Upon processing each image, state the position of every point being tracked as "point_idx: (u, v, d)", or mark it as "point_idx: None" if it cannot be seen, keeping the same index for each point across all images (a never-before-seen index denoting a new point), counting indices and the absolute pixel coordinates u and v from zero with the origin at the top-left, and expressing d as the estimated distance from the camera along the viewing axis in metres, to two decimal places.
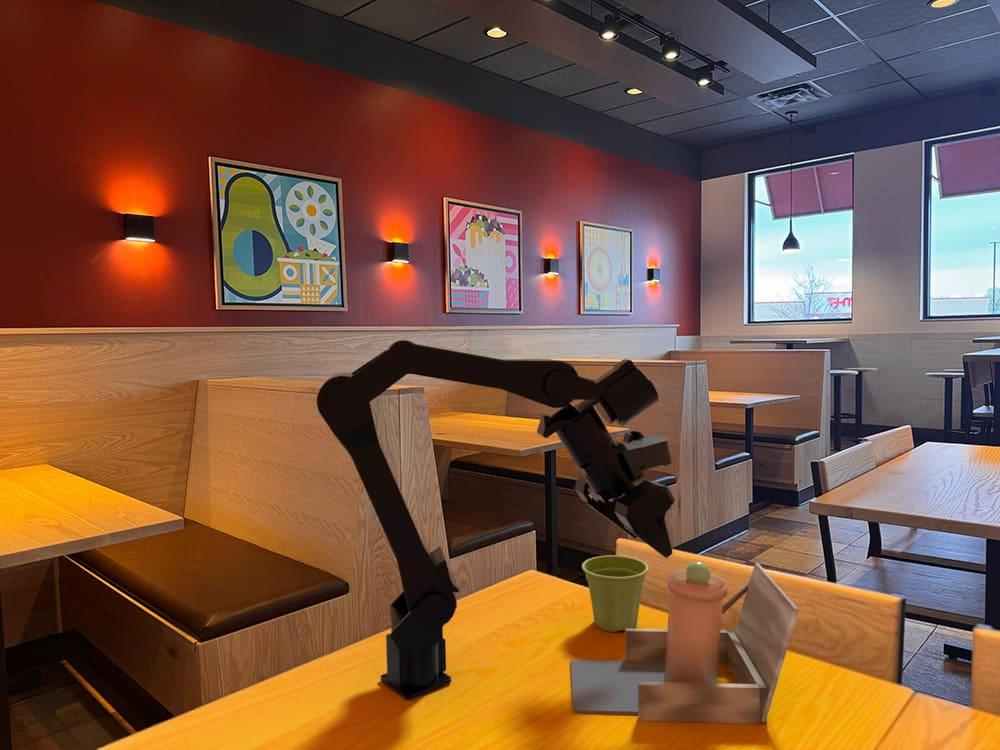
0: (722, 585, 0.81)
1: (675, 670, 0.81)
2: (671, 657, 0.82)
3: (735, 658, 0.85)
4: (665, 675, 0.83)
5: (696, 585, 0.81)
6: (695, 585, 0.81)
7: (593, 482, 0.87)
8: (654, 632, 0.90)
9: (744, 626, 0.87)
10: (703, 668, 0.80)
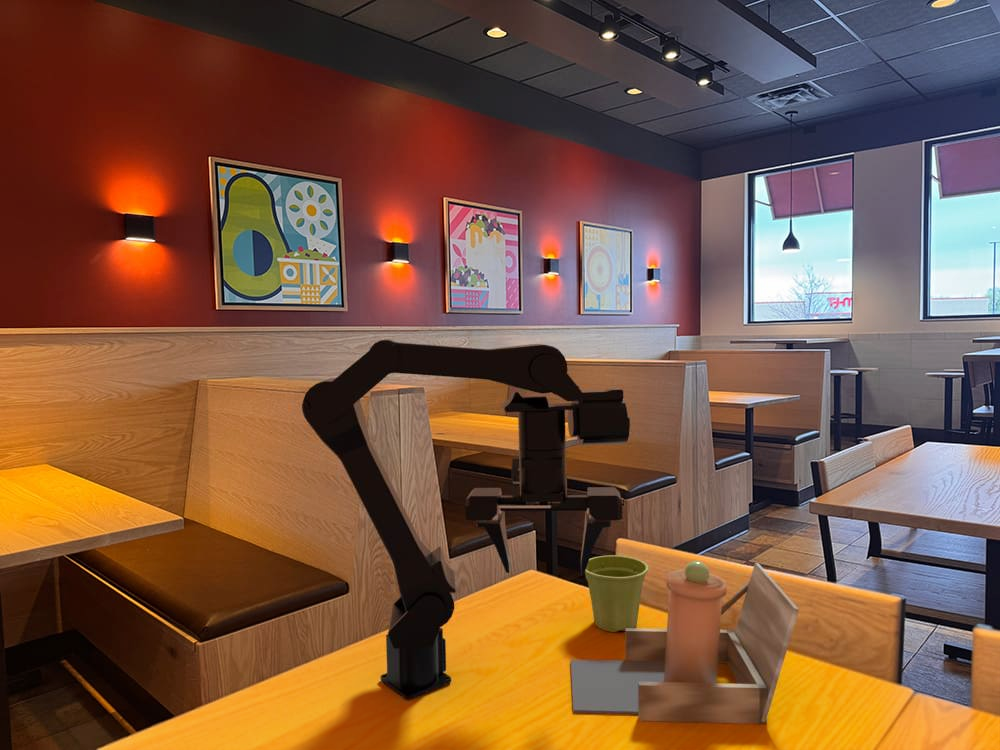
0: (721, 584, 0.81)
1: (675, 670, 0.81)
2: (671, 657, 0.82)
3: (735, 658, 0.85)
4: (665, 675, 0.83)
5: (695, 584, 0.81)
6: (694, 584, 0.81)
7: (554, 479, 0.83)
8: (654, 632, 0.90)
9: (744, 626, 0.87)
10: (703, 667, 0.80)
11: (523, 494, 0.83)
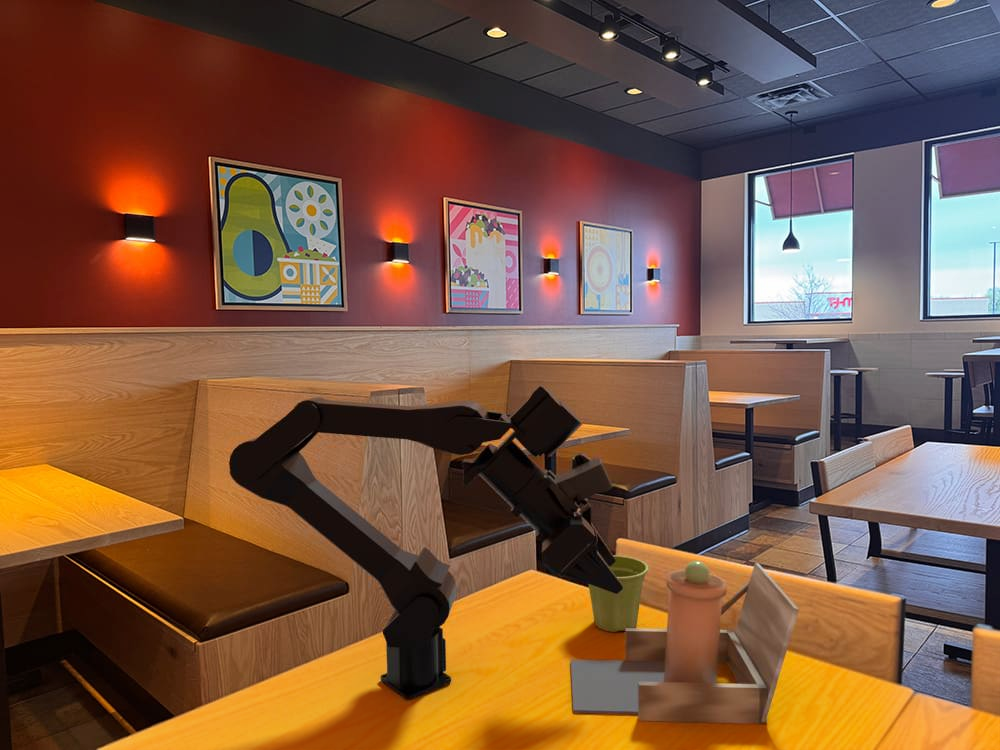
0: (721, 584, 0.81)
1: (675, 670, 0.81)
2: (671, 657, 0.82)
3: (735, 658, 0.85)
4: (665, 675, 0.83)
5: (695, 584, 0.81)
6: (694, 584, 0.81)
7: (528, 521, 0.82)
8: (654, 632, 0.90)
9: (744, 626, 0.87)
10: (703, 667, 0.80)
11: None
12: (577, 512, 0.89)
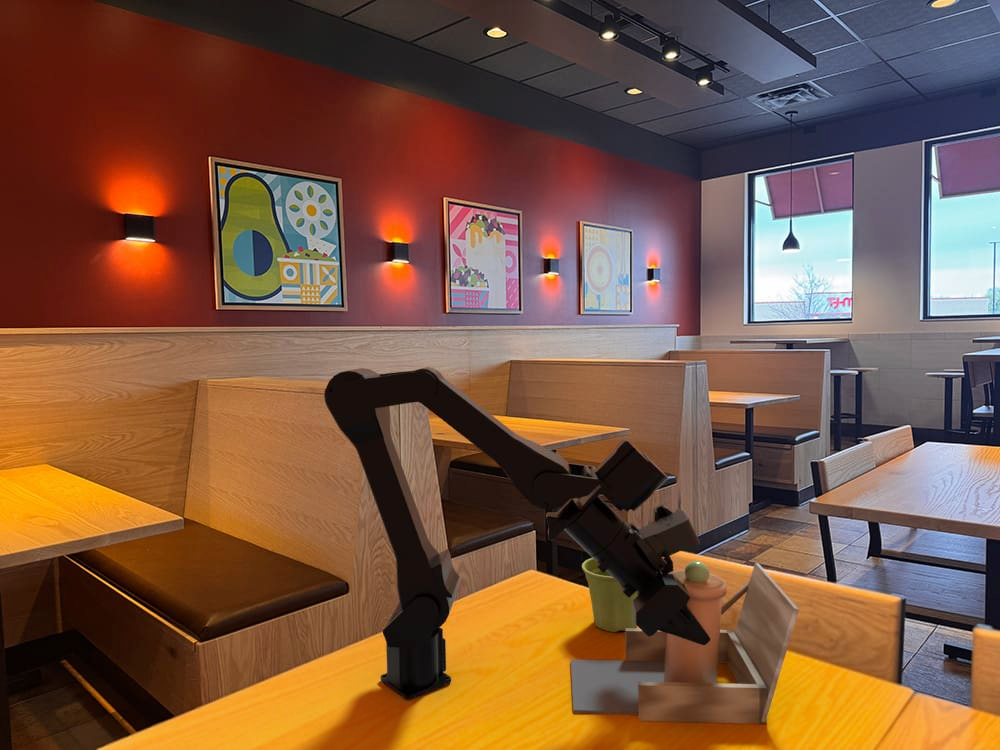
0: (721, 584, 0.81)
1: (675, 670, 0.81)
2: (671, 657, 0.82)
3: (735, 658, 0.85)
4: (665, 675, 0.83)
5: (695, 584, 0.81)
6: (694, 584, 0.81)
7: (613, 576, 0.82)
8: None
9: (744, 626, 0.87)
10: (703, 667, 0.80)
11: None
12: None
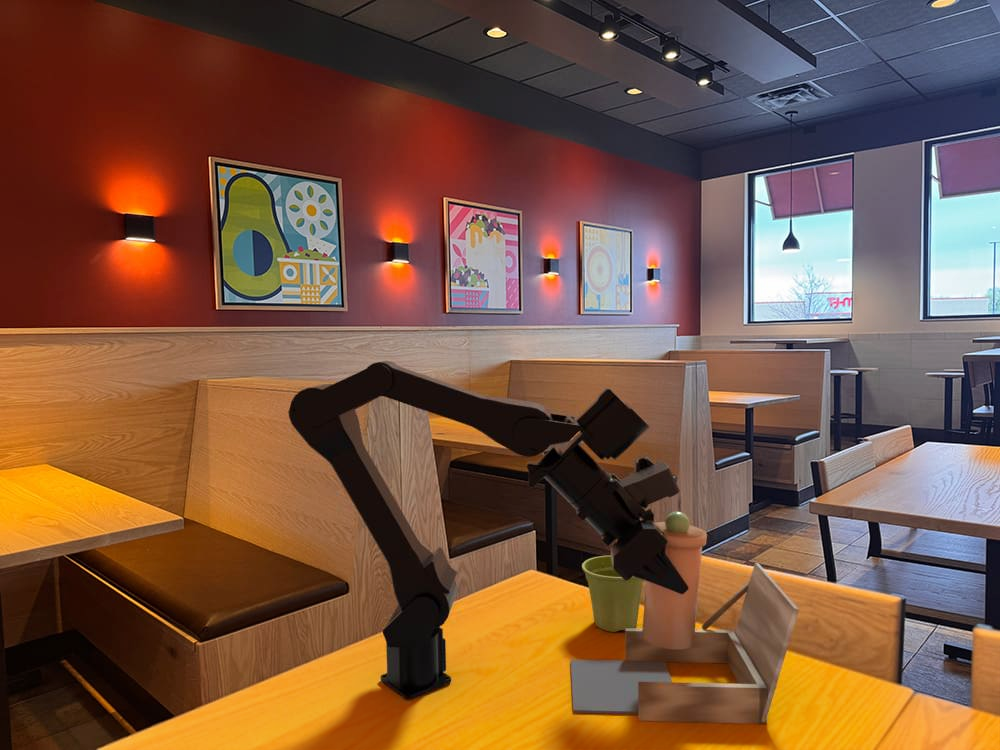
0: (701, 534, 0.81)
1: (653, 620, 0.81)
2: (650, 607, 0.82)
3: (735, 658, 0.85)
4: (643, 626, 0.83)
5: (675, 534, 0.81)
6: (674, 533, 0.81)
7: (593, 525, 0.82)
8: None
9: (744, 626, 0.87)
10: (681, 616, 0.80)
11: None
12: (639, 519, 0.87)
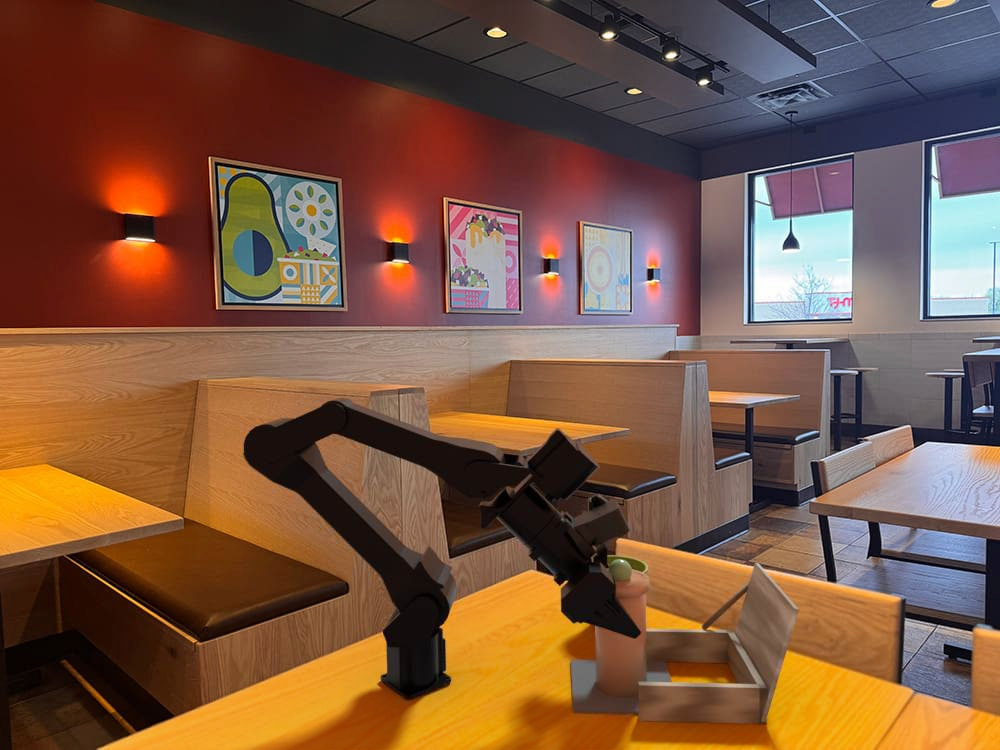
0: (643, 581, 0.82)
1: (603, 669, 0.82)
2: (599, 656, 0.82)
3: (735, 658, 0.85)
4: (596, 674, 0.84)
5: (617, 583, 0.81)
6: (616, 582, 0.82)
7: (545, 565, 0.82)
8: (654, 632, 0.90)
9: (744, 626, 0.87)
10: (630, 664, 0.81)
11: None
12: None
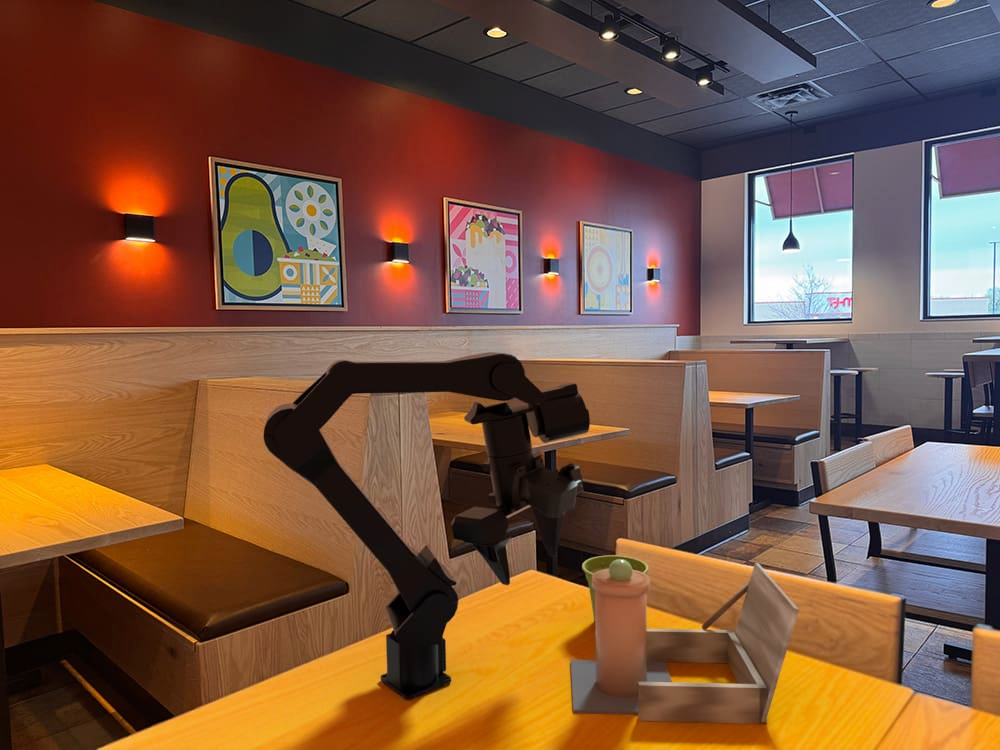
0: (643, 581, 0.82)
1: (603, 669, 0.82)
2: (600, 656, 0.82)
3: (735, 658, 0.85)
4: (596, 674, 0.84)
5: (618, 583, 0.81)
6: (617, 582, 0.82)
7: None
8: (654, 632, 0.90)
9: (744, 626, 0.87)
10: (630, 664, 0.81)
11: None
12: None
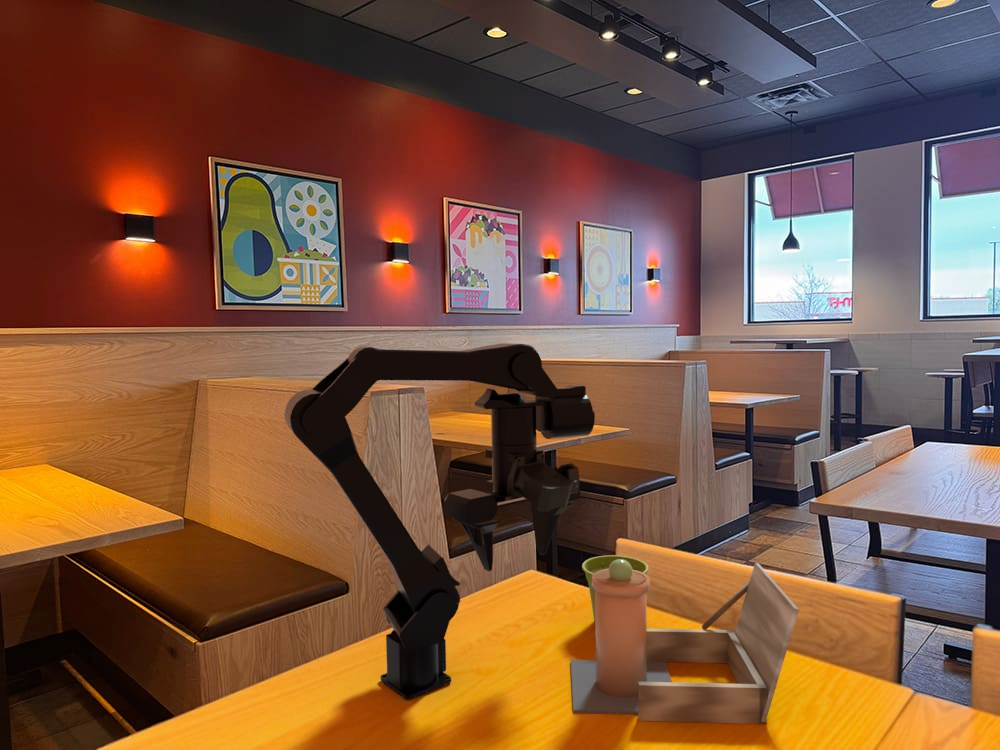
0: (643, 581, 0.82)
1: (603, 669, 0.82)
2: (600, 656, 0.82)
3: (735, 658, 0.85)
4: (596, 674, 0.84)
5: (618, 583, 0.81)
6: (617, 582, 0.82)
7: None
8: (654, 632, 0.90)
9: (744, 626, 0.87)
10: (630, 664, 0.81)
11: None
12: None
